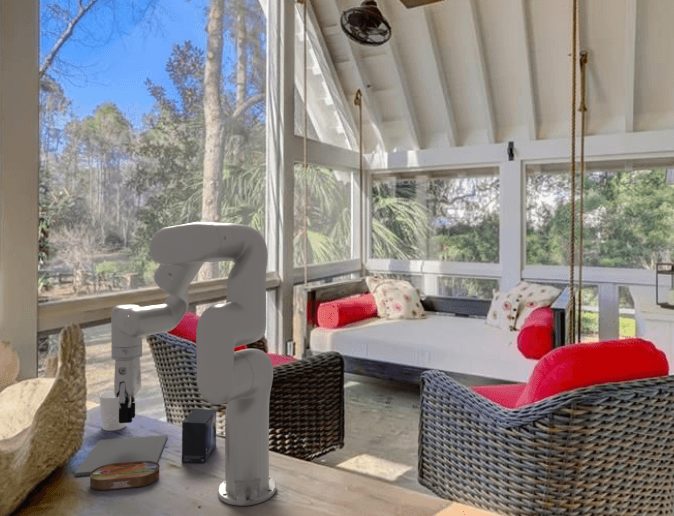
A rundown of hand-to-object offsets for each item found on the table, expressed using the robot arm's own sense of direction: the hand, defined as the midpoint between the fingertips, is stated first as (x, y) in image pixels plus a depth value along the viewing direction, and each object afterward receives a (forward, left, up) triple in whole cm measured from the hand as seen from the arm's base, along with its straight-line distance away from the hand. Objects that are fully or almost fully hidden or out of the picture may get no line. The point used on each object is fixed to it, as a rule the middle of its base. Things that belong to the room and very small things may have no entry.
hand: (127, 419), depth 130 cm
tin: (-14, -4, -7) cm, 16 cm away
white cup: (+19, +8, -9) cm, 22 cm away
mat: (-3, 0, -8) cm, 9 cm away
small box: (-6, -19, -9) cm, 22 cm away
